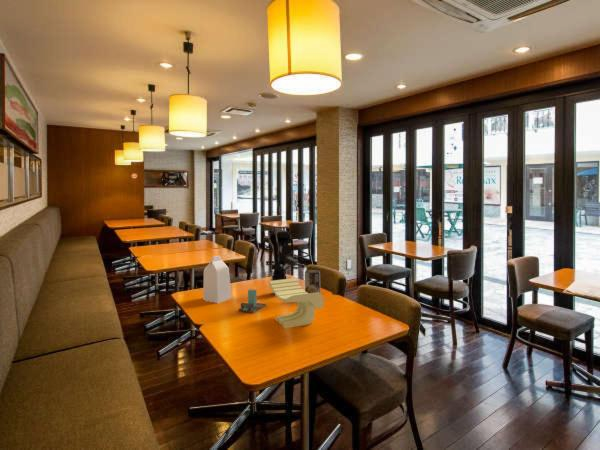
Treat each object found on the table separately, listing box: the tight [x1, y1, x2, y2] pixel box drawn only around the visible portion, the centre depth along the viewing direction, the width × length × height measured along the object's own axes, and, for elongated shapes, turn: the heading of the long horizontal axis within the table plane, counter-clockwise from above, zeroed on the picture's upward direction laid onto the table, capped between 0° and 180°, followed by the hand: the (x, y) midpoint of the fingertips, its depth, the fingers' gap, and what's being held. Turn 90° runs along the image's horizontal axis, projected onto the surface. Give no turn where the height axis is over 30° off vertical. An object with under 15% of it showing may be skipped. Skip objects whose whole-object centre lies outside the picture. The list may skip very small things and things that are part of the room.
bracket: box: [238, 302, 267, 314], centre depth 203 cm, size 14×9×4 cm, turn 157°
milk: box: [202, 255, 232, 304], centre depth 220 cm, size 12×12×26 cm
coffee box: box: [304, 269, 321, 293], centre depth 222 cm, size 9×6×16 cm
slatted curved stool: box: [269, 278, 324, 329], centre depth 182 cm, size 30×16×18 cm, turn 24°
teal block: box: [243, 289, 258, 311], centre depth 199 cm, size 9×4×9 cm, turn 157°
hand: (283, 278), depth 215 cm, fingers closed
